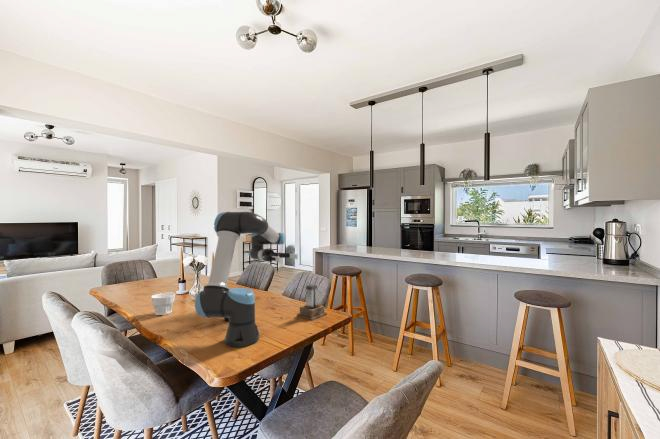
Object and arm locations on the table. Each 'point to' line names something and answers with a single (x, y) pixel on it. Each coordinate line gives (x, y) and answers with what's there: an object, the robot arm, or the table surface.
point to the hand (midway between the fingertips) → (288, 258)
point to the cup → (163, 303)
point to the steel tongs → (311, 296)
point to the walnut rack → (312, 312)
